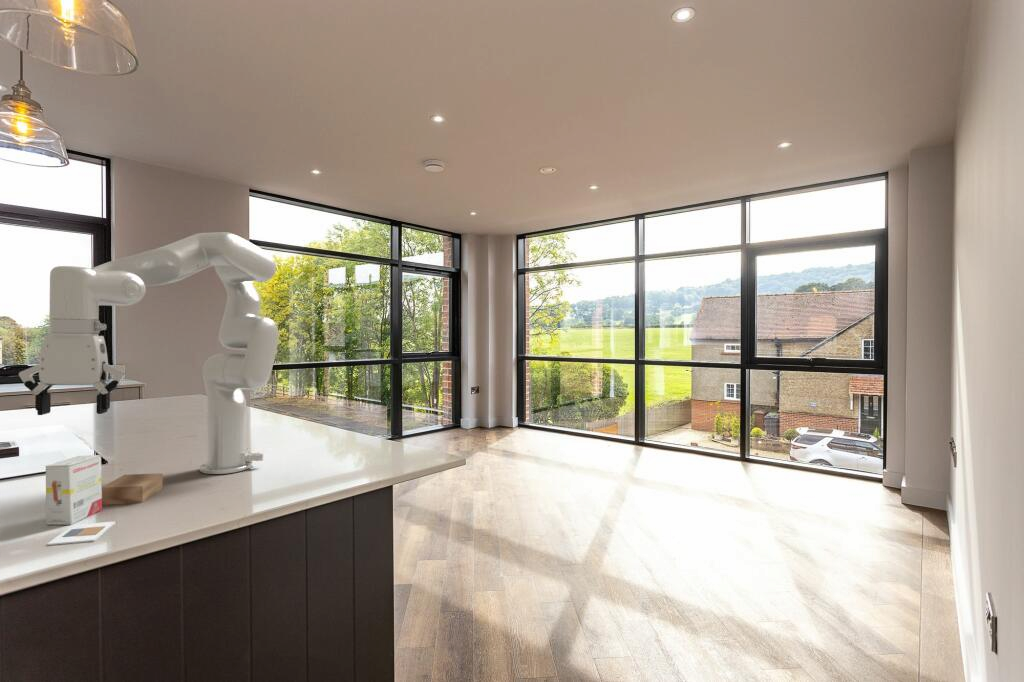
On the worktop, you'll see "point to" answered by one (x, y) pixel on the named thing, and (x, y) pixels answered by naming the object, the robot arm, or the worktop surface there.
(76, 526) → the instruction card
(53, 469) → the ink box
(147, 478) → the base block
